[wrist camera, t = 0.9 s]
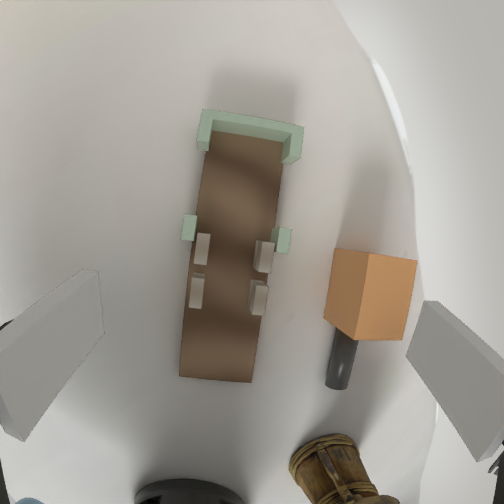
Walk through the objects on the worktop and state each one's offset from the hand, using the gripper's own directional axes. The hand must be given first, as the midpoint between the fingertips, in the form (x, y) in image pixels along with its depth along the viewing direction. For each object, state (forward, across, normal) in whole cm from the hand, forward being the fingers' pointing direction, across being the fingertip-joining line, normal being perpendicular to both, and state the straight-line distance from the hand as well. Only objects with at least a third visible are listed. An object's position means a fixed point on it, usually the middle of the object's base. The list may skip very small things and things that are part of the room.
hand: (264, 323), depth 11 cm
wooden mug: (+14, -10, +25) cm, 30 cm away
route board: (+17, +2, +3) cm, 17 cm away
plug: (+17, -10, +8) cm, 22 cm away
